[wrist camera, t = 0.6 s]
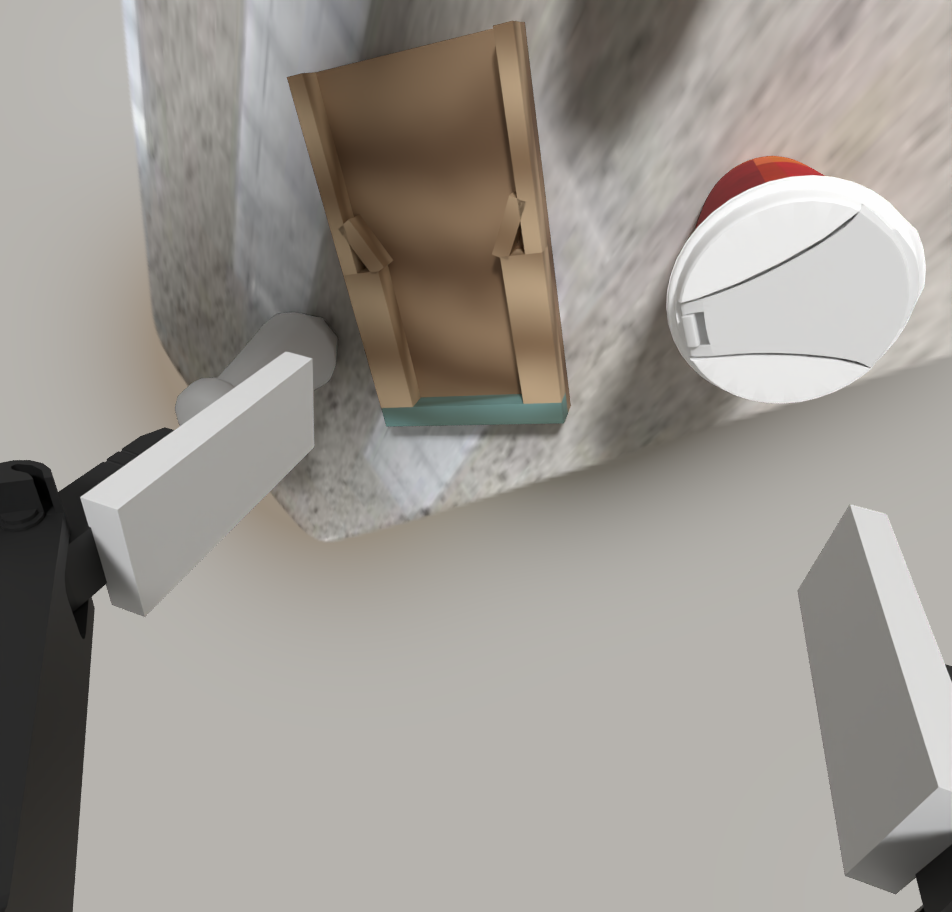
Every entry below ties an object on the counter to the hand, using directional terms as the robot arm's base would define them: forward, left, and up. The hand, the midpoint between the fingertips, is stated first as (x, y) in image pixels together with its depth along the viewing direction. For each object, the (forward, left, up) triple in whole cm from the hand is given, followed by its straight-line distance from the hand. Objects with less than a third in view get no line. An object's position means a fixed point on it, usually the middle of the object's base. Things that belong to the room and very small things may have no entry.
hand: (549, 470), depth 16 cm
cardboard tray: (0, -12, -25) cm, 28 cm away
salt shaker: (+5, -24, -26) cm, 35 cm away
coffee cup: (0, +6, -26) cm, 26 cm away
